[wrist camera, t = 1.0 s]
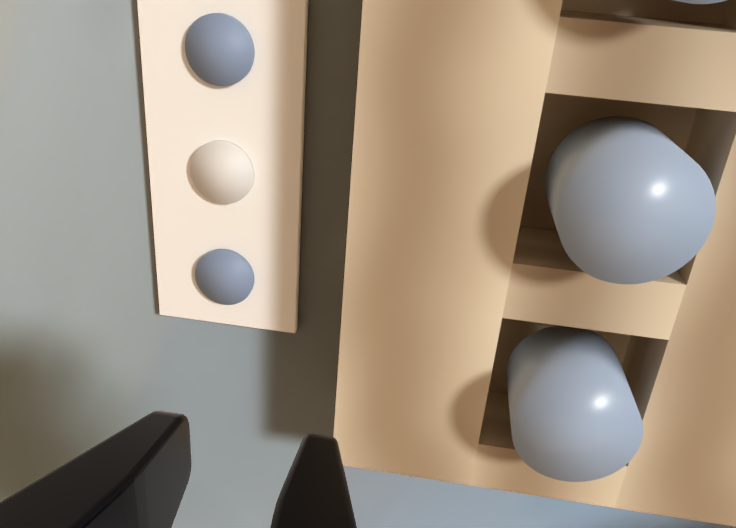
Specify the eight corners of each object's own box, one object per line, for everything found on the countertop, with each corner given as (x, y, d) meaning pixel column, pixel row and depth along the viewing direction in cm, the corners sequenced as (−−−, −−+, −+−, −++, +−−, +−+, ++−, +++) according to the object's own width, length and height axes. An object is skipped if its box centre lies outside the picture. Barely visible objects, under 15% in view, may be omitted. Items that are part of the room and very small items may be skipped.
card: (308, -14, 16) (304, -14, 16) (297, 328, 21) (293, 336, 20) (140, -30, 17) (131, -29, 16) (163, 309, 21) (157, 317, 21)
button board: (1014, -258, 13) (1161, -316, 10) (724, 455, 20) (764, 531, 18) (401, -289, 14) (386, -350, 11) (348, 400, 22) (331, 463, 19)
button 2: (633, 333, 17) (658, 390, 15) (605, 425, 18) (625, 490, 16) (516, 318, 17) (523, 371, 15) (497, 409, 18) (502, 471, 16)
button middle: (695, 123, 15) (736, 153, 12) (658, 245, 16) (690, 293, 14) (558, 108, 15) (574, 135, 13) (533, 230, 16) (544, 274, 14)
